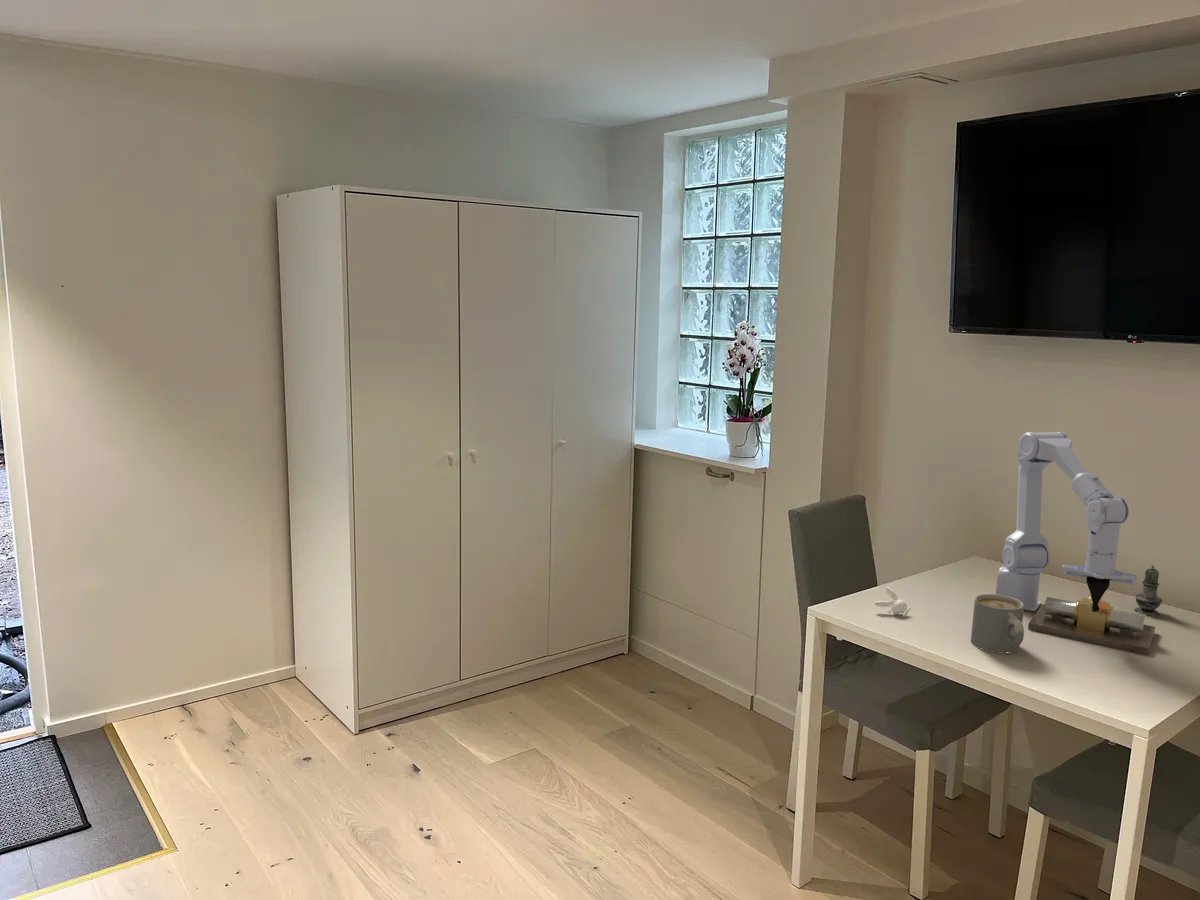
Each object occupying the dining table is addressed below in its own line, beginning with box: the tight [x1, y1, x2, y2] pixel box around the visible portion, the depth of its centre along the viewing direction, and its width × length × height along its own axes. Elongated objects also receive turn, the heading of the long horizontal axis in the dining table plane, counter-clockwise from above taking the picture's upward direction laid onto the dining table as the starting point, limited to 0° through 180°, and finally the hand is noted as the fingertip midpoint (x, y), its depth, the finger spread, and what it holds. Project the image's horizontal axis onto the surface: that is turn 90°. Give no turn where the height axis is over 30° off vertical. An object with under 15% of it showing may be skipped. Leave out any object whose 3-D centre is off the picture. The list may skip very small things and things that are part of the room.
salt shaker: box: [1134, 565, 1163, 616], centre depth 225 cm, size 6×6×12 cm
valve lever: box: [1088, 591, 1110, 616], centre depth 207 cm, size 12×3×2 cm, turn 161°
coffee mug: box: [970, 593, 1025, 654], centre depth 201 cm, size 13×10×10 cm
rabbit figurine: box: [874, 585, 911, 618], centre depth 222 cm, size 6×4×8 cm
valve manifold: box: [1027, 596, 1156, 656], centre depth 212 cm, size 24×16×8 cm, turn 54°
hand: (1094, 610), depth 204 cm, fingers closed, pressing on valve lever
